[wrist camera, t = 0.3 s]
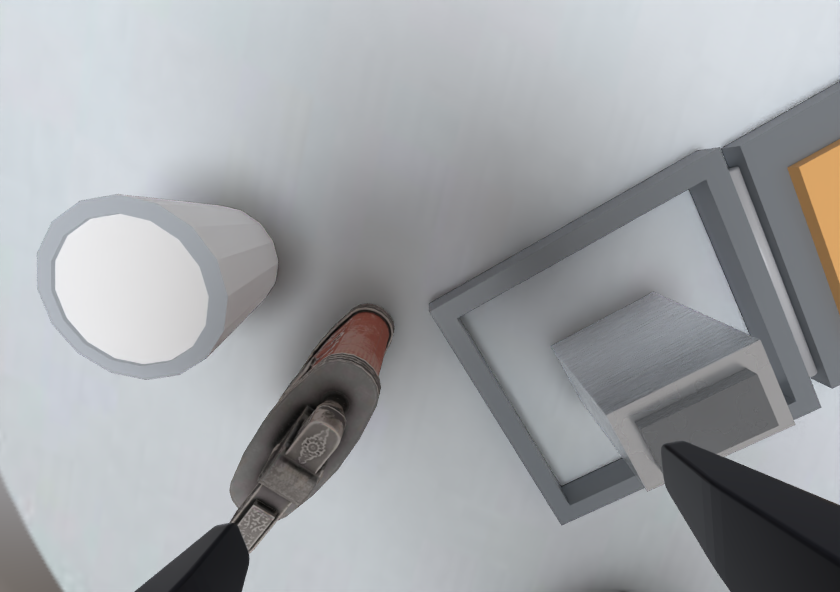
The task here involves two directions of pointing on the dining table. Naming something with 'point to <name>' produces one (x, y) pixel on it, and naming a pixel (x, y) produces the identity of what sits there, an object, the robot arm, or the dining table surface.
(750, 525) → the robot arm
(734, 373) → the block
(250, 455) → the red tin
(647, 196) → the gray square frame
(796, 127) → the lid
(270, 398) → the dining table surface
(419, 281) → the dining table surface
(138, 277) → the grey cup
